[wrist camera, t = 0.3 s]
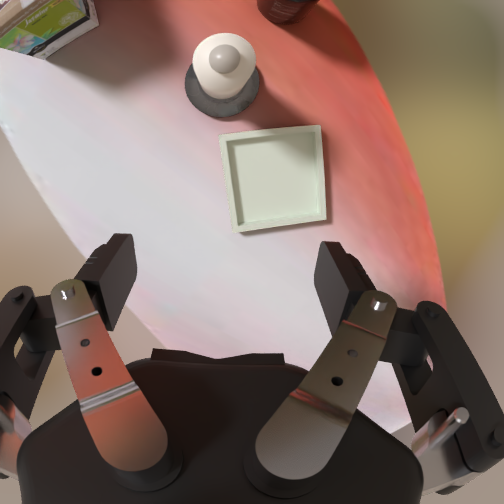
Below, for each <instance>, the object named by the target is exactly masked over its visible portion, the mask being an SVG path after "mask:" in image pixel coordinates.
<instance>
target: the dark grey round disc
mask: <svg viewBox="0 0 504 504" xmlns="http://www.w3.org/2000/svg"><path fill="white" fill-rule="evenodd" d="M258 89H259V75H258V72H257V69H256V67H255V69H254V71H253V73H252V75H251V76H250V78H249V79H248V80H247V82H246V83H245V85H244V86H243V88H242V89H241V90H240V92H239V93H238V94H236V95H235V96H233V97H231V98H227V99H216V98H213V97H211V96H209V95H208V94H206V93H205V92H204V90H203V89H202V87H201V85H200V82H199V80H198V78H197V76H196V73H195V71H194V68H193V63H192V64H191V66H190V67H189V69H188V71H187V74H186V78H185V90H186V94H187V96H188V98H189V100H190V102H191V103H192V104H193V105H194V106H195V107H196V108H197V109H198V110H199V111H201V112H203V113H205V114H207V115H210V116H215V117H228V116H232V115H235V114H237V113H239V112H241V111H243V110H244V109H246V108H247V107H248V106H249V105H250V104H251V103H252V102H253V100H254V99H255V97H256V95H257V92H258Z"/></svg>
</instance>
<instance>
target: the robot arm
mask: <svg viewBox="0 0 504 504" xmlns="http://www.w3.org/2000/svg"><path fill="white" fill-rule="evenodd" d="M136 276H137V263H136V256H135V249H134V241H133V236H132V235H131V234H120V233H115V234H113V236H112V237H111V238H110V240H109V241H108V242H107V244H103V245H101V246H100V247H98V248H97V249H95V250H94V252H93V253H92V254H91V255H90V258H88V260H87V261H86V264H84V265H83V266H82V268H81V269H80V271H79V272H78V274H77V275H76V276H75V278H74V279H70V280H65V281H62V282H60V283H58V284H57V285H56V286H55V287H54V288H53V289H52V291H51V294H50V295H46V296H39V297H35V295H34V293H33V290H32V289H31V287H28V286H19V287H16V288H14V289H12V290H10V291H9V292H8V293H7V294H6V295H5V297H4V298H3V299H2V301H1V302H0V479H6V478H8V477H11V478H14V479H16V480H18V481H19V484H20V490H21V497H22V504H420V499H421V496H424V495H427V494H430V493H433V492H436V493H438V494H441V495H446V494H450V493H452V492H454V491H455V490H457V489H459V488H460V487H462V486H464V485H465V484H467V483H469V482H470V481H471V480H473V479H475V478H476V477H478V476H479V475H481V474H482V473H484V472H485V471H487V470H488V469H490V468H491V467H492V466H494V465H495V464H497V463H498V462H499V461H501V460H502V459H503V458H504V414H503V412H502V409H501V407H500V405H499V403H498V401H497V399H496V397H495V395H494V393H493V391H492V389H491V387H490V385H489V383H488V381H487V379H486V378H485V376H484V374H483V372H482V370H481V368H480V367H479V365H478V363H477V361H476V359H475V358H474V356H473V354H472V352H471V351H470V349H469V347H468V346H467V344H466V342H465V341H464V339H463V337H462V336H461V334H460V332H459V331H458V329H457V328H456V326H455V324H454V323H453V321H452V320H451V318H450V317H449V315H448V314H447V312H446V311H445V310H444V308H442V307H441V306H440V305H438V304H436V303H434V302H431V301H422V302H419V303H418V305H417V307H416V309H415V311H412V310H407V309H402V308H398V307H397V303H396V301H395V300H394V299H393V298H392V297H391V296H390V295H388V294H387V293H384V292H382V291H378V290H376V288H375V286H374V285H373V283H372V281H371V280H370V278H369V276H368V275H367V274H366V272H365V270H364V269H363V267H362V265H361V264H360V262H359V260H358V259H356V258H355V257H354V256H352V255H351V254H347V253H346V252H345V250H344V249H343V247H342V246H341V244H340V243H339V242H328V241H322V242H321V244H320V248H319V253H318V258H317V263H316V268H315V273H314V285H315V288H316V291H317V294H318V297H319V300H320V303H321V305H322V308H323V311H324V314H325V317H326V320H327V323H328V326H329V329H330V332H331V335H332V338H331V340H330V341H329V343H328V344H327V346H326V347H325V349H324V350H323V352H322V353H321V355H320V356H319V358H318V359H317V361H316V362H315V364H314V365H313V367H312V368H311V369H310V371H307V370H305V369H303V368H301V367H298V366H295V365H292V364H288V363H285V361H284V354H283V353H270V354H260V353H251V354H245V355H240V356H234V357H228V358H222V359H214V358H210V357H206V356H202V355H198V354H194V353H190V352H187V351H179V350H166V349H155V348H153V351H152V354H151V358H145V359H141V360H137V361H134V362H131V363H129V364H127V365H124V363H123V361H122V360H121V357H120V356H119V354H118V352H117V350H116V348H115V346H114V344H113V342H112V340H111V338H110V336H109V334H108V332H107V331H113V330H114V328H115V325H116V323H117V321H118V318H119V316H120V314H121V311H122V309H123V307H124V304H125V302H126V300H127V297H128V295H129V293H130V291H131V289H132V286H133V284H134V282H135V280H136ZM19 337H20V338H21V340H22V342H23V345H22V347H21V349H20V351H19V353H18V355H17V357H16V358H15V357H14V347H15V344H16V342H17V340H18V339H19ZM55 350H62V353H63V357H64V360H65V363H66V366H67V369H68V372H69V375H70V378H71V381H72V384H73V387H74V389H75V392H76V395H77V398H78V399H77V400H76V401H74V402H73V403H72V404H70V405H69V406H67V407H66V408H65V409H63V410H62V411H61V412H59V413H58V414H56V415H55V416H53V417H52V418H51V419H49V420H48V421H46V422H45V423H44V424H43V425H41V426H39V427H38V428H37V429H35V430H34V431H32V429H31V424H30V422H29V418H30V415H31V412H32V409H33V407H34V403H35V400H36V398H37V395H38V393H39V390H40V387H41V385H42V382H43V379H44V377H45V374H46V372H47V369H48V367H49V364H50V362H51V360H52V357H53V355H54V353H55ZM428 355H429V356H430V358H431V360H432V363H433V372H432V370H431V368H430V366H429V364H428V362H427V360H426V358H427V357H428ZM378 361H383V362H389V363H392V366H393V369H394V371H395V374H396V377H397V380H398V382H399V385H400V388H401V391H402V394H403V396H404V399H405V402H406V405H407V408H408V411H409V414H410V417H411V420H412V423H413V426H414V430H415V433H416V434H415V435H414V436H413V439H412V442H411V449H412V450H410V449H409V448H408V447H407V446H406V445H404V444H403V443H402V442H400V441H399V440H397V439H396V438H395V437H393V436H392V435H391V434H389V433H388V432H387V431H385V430H384V429H383V428H382V427H380V426H379V425H378V424H376V423H375V422H374V421H372V420H371V419H370V418H368V417H367V416H366V415H365V414H363V413H362V412H361V411H359V410H358V409H357V406H358V404H359V402H360V400H361V398H362V396H363V394H364V392H365V389H366V387H367V385H368V383H369V381H370V378H371V376H372V374H373V372H374V369H375V367H376V365H377V362H378Z"/></svg>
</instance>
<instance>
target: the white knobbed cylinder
mask: <svg viewBox="0 0 504 504" xmlns="http://www.w3.org/2000/svg"><path fill="white" fill-rule="evenodd" d="M255 65H256V55H255V52H254V49H253V48H252V46H251V45H250V43H249V42H248V41H246V40H245V39H244V38H242V37H240V36H238V35H235V34H231V33H219V34H215V35H212V36H210V37H208V38H206V39H205V40H203V41H202V42H201V43H200V44H199V45H198V47H197V48H196V50H195V52H194V55H193V68H194V71H195V73H196V76H197V78H198V80H199V82H200V85H201V87H202V89H203V90H204V92H205V93H206V94H208V95H209V96H211V97H213V98H216V99H227V98H231V97H233V96H235V95H236V94H238V93H239V92H240V90H241V89H242V88H243V86H244V85H245V83H246V82H247V80H248V79H249V78H250V76H251V75H252V73H253V71H254V69H255Z"/></svg>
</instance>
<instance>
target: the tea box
mask: <svg viewBox="0 0 504 504" xmlns="http://www.w3.org/2000/svg"><path fill="white" fill-rule="evenodd" d="M97 26H99V23H98V18H97V14H96V10H95V6H94V2H93V0H0V48H4V49H8V50H11V51H15V52H18V53H22V54H26V55H30V56H32V57H36V58H39V59H43V60H44V59H45V58H47V57H48V56H50V55H51V54H52V53H54V52H55V51H57V50H58V49H60V48H61V47H63V46H65V45H66V44H68V43H70V42H71V41H73V40H74V39H76V38H78V37H79V36H81V35H83V34H84V33H86V32H88V31H90V30H91V29H93V28H95V27H97Z"/></svg>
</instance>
